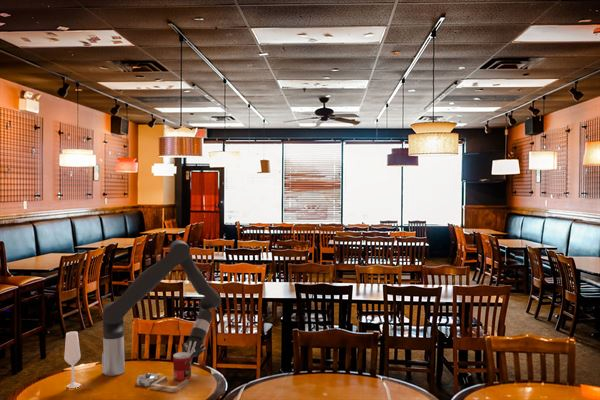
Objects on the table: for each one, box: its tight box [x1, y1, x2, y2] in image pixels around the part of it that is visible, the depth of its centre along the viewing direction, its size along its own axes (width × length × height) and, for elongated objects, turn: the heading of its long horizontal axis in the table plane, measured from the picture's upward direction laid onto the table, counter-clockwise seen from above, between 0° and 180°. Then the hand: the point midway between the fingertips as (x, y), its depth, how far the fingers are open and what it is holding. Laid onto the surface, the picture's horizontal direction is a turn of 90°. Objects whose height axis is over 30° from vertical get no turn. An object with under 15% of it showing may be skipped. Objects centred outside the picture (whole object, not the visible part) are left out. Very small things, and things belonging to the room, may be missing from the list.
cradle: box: [149, 375, 190, 393], centre depth 238 cm, size 13×10×2 cm
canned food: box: [172, 351, 192, 382], centre depth 247 cm, size 8×8×11 cm
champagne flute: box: [63, 330, 82, 389], centre depth 238 cm, size 7×7×24 cm
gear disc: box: [136, 372, 160, 388], centre depth 243 cm, size 10×10×4 cm
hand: (187, 363), depth 251 cm, fingers closed
